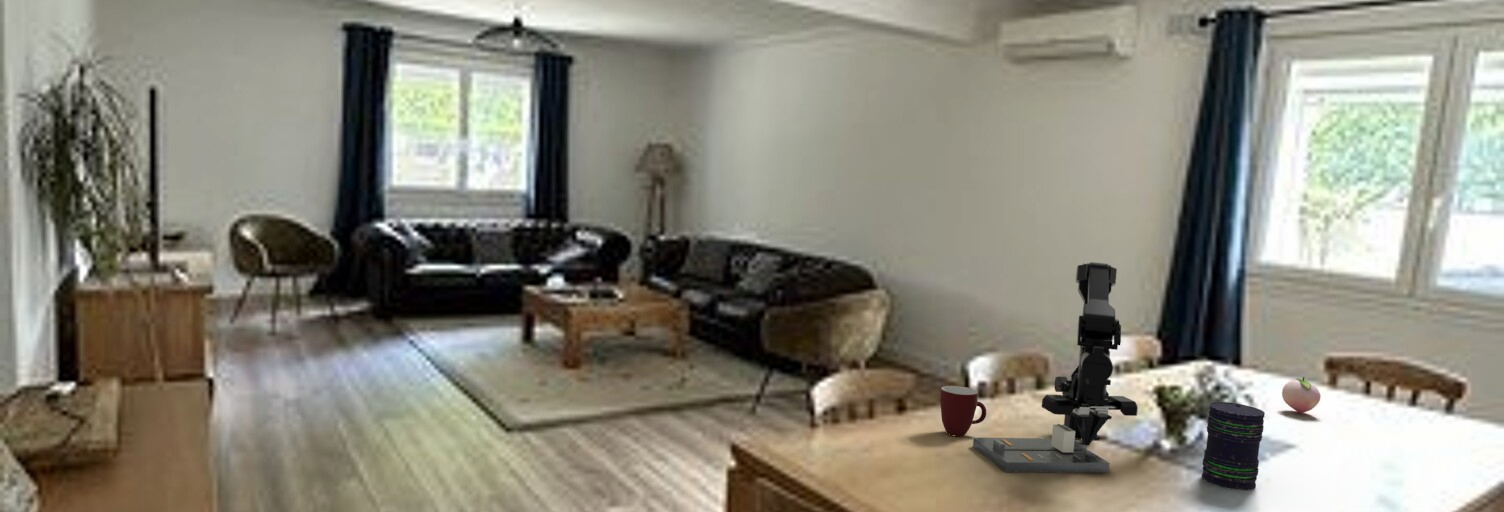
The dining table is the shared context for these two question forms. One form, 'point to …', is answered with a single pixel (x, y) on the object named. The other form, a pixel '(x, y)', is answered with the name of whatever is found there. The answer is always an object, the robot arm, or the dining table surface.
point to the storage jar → (1233, 446)
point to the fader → (1063, 438)
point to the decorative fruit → (1300, 395)
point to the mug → (959, 409)
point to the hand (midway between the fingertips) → (1085, 445)
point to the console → (1039, 456)
